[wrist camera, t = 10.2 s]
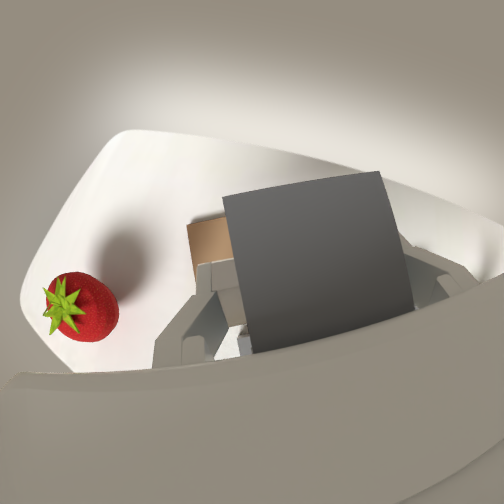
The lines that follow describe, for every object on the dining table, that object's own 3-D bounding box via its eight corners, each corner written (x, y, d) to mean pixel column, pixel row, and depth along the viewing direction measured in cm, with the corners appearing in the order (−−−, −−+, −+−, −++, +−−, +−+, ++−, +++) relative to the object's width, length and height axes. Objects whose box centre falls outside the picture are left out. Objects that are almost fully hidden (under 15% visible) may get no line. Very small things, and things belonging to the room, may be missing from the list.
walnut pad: (328, 200, 28) (330, 197, 27) (348, 283, 26) (351, 283, 25) (188, 227, 27) (186, 224, 26) (203, 313, 26) (201, 314, 25)
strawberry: (131, 346, 26) (76, 365, 16) (75, 318, 26) (13, 321, 16) (147, 291, 27) (93, 287, 17) (89, 267, 27) (27, 253, 17)
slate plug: (321, 232, 15) (378, 171, 7) (339, 313, 14) (417, 326, 7) (240, 249, 15) (222, 197, 7) (257, 332, 14) (256, 371, 6)
